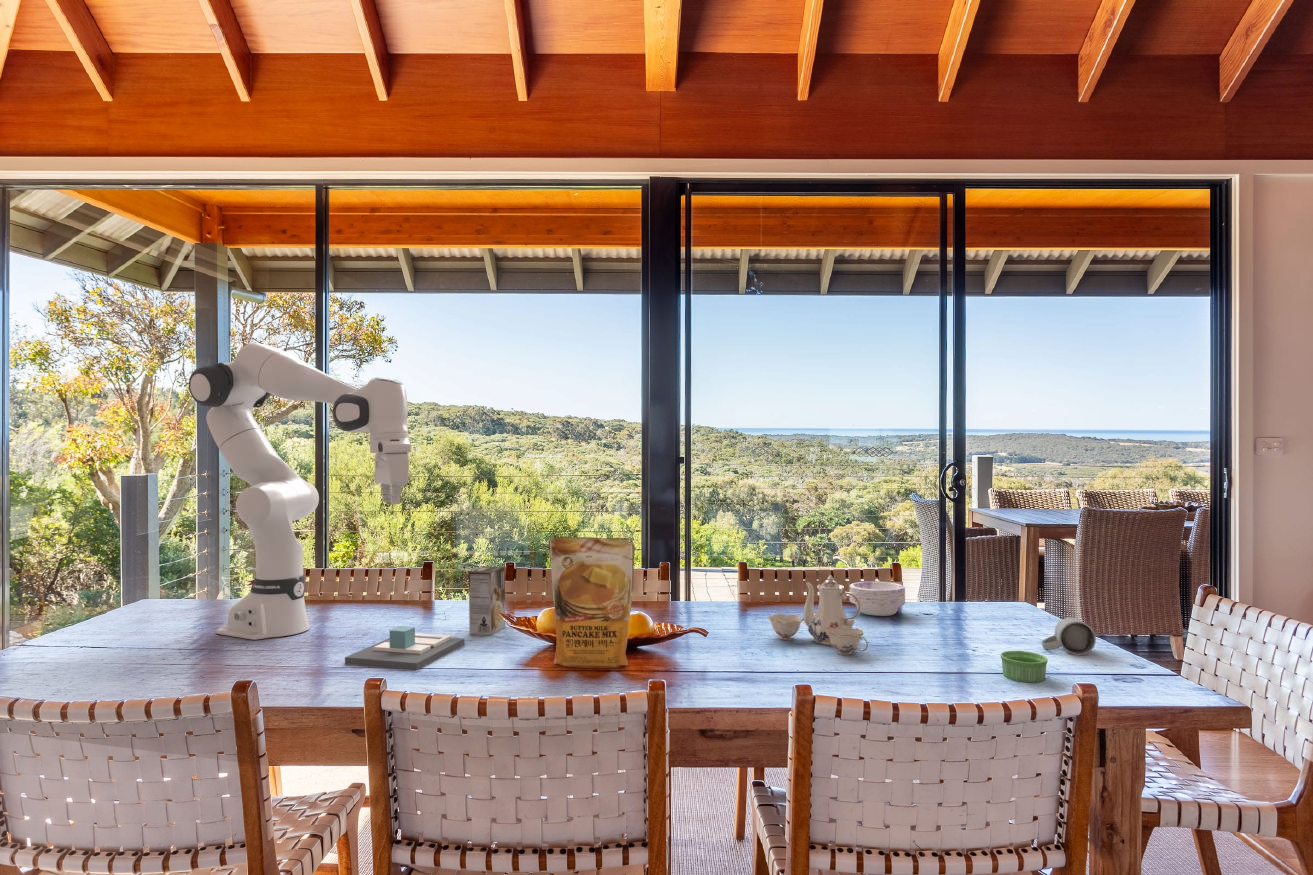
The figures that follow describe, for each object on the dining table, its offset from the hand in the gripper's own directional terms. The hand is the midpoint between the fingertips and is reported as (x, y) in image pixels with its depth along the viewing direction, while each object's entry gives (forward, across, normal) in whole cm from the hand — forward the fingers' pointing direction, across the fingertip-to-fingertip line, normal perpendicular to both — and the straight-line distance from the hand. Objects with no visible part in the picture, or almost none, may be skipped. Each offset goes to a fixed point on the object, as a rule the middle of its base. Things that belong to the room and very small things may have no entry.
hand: (391, 503), depth 188 cm
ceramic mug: (+39, +84, +135) cm, 164 cm away
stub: (+33, +8, 0) cm, 34 cm away
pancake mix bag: (+36, +36, +34) cm, 62 cm away
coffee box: (+35, -4, +24) cm, 43 cm away
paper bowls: (+38, +33, +126) cm, 135 cm away
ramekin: (+39, +91, +108) cm, 147 cm away
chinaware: (+38, +49, +91) cm, 110 cm away
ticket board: (+35, +7, +2) cm, 35 cm away
